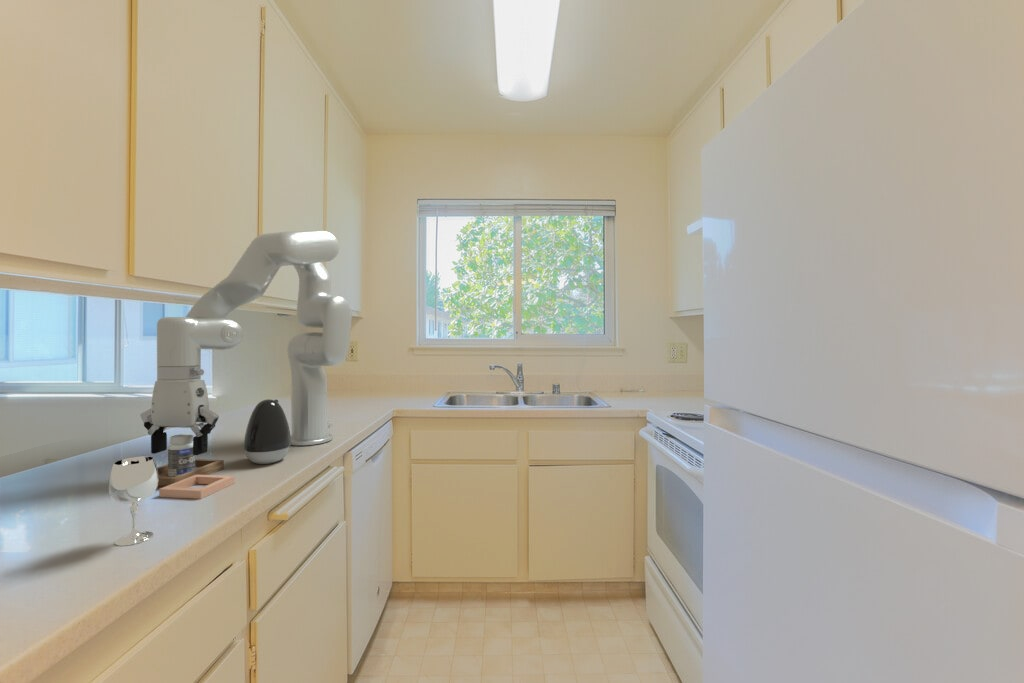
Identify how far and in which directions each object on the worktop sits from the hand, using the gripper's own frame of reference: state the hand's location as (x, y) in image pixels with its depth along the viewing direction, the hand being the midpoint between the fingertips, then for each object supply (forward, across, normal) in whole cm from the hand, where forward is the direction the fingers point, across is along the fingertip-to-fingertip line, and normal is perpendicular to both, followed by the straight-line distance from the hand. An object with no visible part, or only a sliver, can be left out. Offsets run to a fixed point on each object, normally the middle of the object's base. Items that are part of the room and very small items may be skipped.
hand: (179, 452), depth 94 cm
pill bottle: (+5, 0, 0) cm, 5 cm away
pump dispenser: (+5, -11, -14) cm, 18 cm away
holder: (+5, -10, +6) cm, 13 cm away
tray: (+5, 0, 0) cm, 5 cm away
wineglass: (+5, -17, +26) cm, 32 cm away
